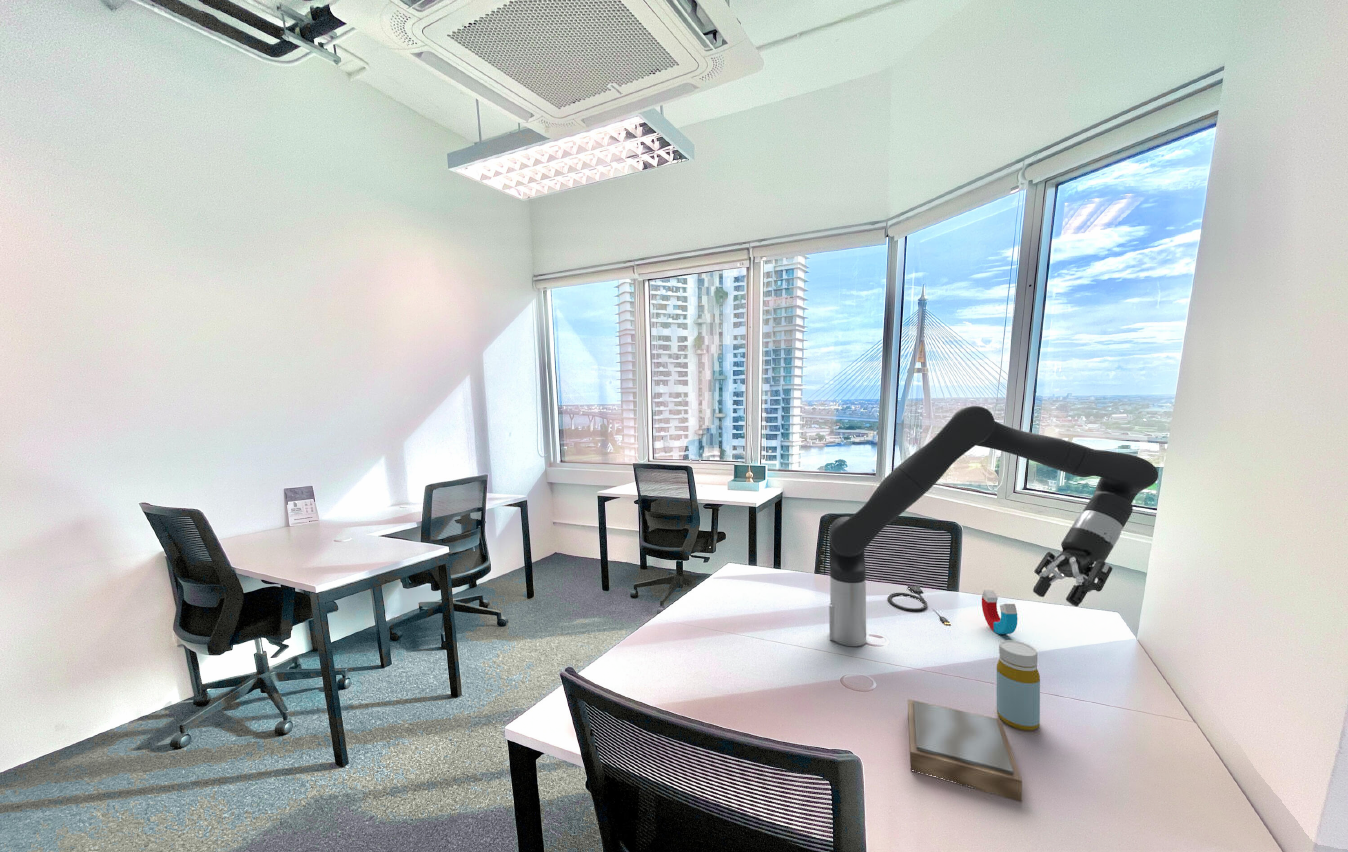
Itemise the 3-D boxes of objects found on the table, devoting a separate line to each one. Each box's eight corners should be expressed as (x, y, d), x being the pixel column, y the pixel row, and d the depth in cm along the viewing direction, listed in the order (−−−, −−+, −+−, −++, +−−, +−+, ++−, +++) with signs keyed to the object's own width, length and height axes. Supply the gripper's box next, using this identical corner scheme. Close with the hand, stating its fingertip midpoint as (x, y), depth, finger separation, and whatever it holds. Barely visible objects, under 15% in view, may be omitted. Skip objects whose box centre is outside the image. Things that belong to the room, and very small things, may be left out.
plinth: (910, 770, 82) (910, 748, 82) (908, 715, 96) (907, 696, 96) (1021, 801, 75) (1021, 777, 75) (1001, 737, 89) (1001, 716, 89)
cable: (901, 623, 137) (901, 618, 137) (878, 587, 165) (878, 583, 165) (951, 627, 135) (951, 622, 135) (919, 589, 162) (919, 585, 162)
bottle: (988, 710, 97) (988, 640, 97) (1019, 707, 98) (1019, 638, 97) (1015, 733, 90) (1015, 658, 90) (1048, 730, 91) (1049, 655, 90)
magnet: (1017, 642, 124) (1017, 605, 124) (1007, 642, 125) (1007, 605, 124) (991, 621, 136) (991, 588, 136) (981, 621, 136) (981, 588, 136)
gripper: (1049, 524, 108) (1013, 581, 106) (1108, 528, 94) (1067, 594, 92) (1077, 544, 107) (1041, 602, 105) (1140, 551, 93) (1100, 619, 91)
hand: (1053, 598), depth 98 cm, fingers open, 8 cm apart
